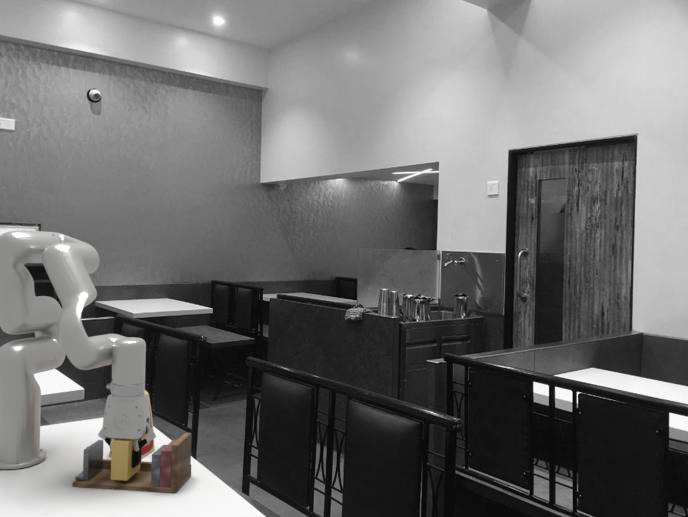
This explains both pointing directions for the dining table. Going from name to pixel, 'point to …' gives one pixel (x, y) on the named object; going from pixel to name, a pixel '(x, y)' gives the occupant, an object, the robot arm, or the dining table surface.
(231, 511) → the dining table surface
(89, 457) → the bookend
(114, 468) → the ochre book
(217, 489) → the dining table surface
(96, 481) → the shelf
